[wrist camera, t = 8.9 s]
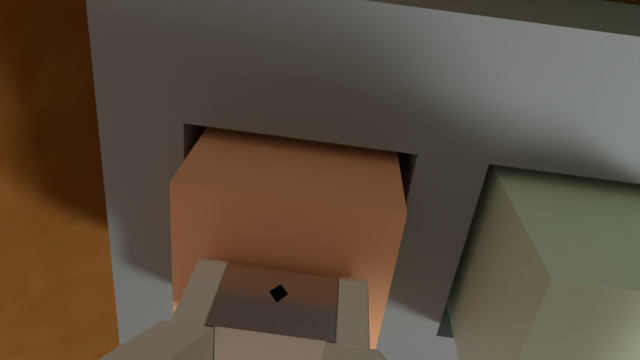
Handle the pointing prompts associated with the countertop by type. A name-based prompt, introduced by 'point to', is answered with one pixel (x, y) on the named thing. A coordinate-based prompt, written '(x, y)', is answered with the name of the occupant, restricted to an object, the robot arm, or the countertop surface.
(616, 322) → the key mid
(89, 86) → the countertop surface
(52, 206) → the countertop surface
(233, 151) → the key
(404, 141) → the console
